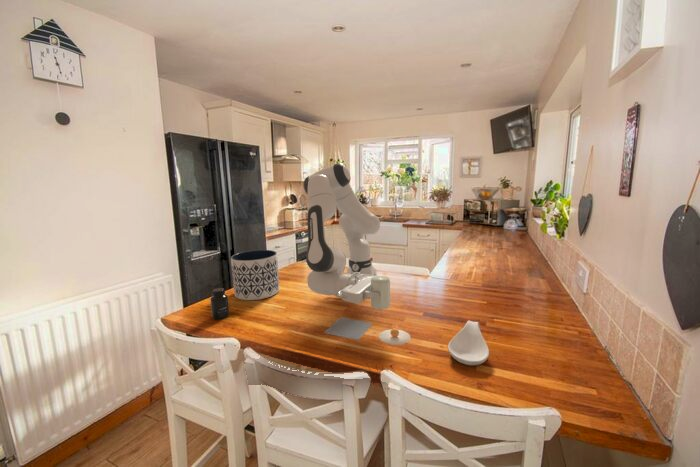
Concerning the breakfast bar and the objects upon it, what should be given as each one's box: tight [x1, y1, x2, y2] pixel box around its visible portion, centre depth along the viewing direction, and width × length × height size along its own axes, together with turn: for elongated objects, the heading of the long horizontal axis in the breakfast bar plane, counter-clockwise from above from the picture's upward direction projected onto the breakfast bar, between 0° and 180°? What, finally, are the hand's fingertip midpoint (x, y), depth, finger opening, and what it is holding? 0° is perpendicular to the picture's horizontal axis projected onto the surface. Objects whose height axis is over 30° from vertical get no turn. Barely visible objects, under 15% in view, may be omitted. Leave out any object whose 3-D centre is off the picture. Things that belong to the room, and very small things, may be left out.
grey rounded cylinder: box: [370, 275, 391, 311], centre depth 107 cm, size 6×6×10 cm
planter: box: [230, 249, 280, 301], centre depth 156 cm, size 22×22×20 cm
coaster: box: [378, 328, 412, 346], centre depth 108 cm, size 11×11×1 cm
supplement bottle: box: [209, 287, 230, 320], centre depth 129 cm, size 7×7×12 cm
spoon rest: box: [447, 320, 490, 366], centre depth 99 cm, size 24×12×7 cm, turn 154°
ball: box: [390, 327, 399, 337], centre depth 107 cm, size 3×3×3 cm
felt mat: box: [323, 316, 373, 341], centre depth 115 cm, size 14×14×1 cm
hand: (382, 291), depth 106 cm, fingers closed on grey rounded cylinder, 6 cm apart
